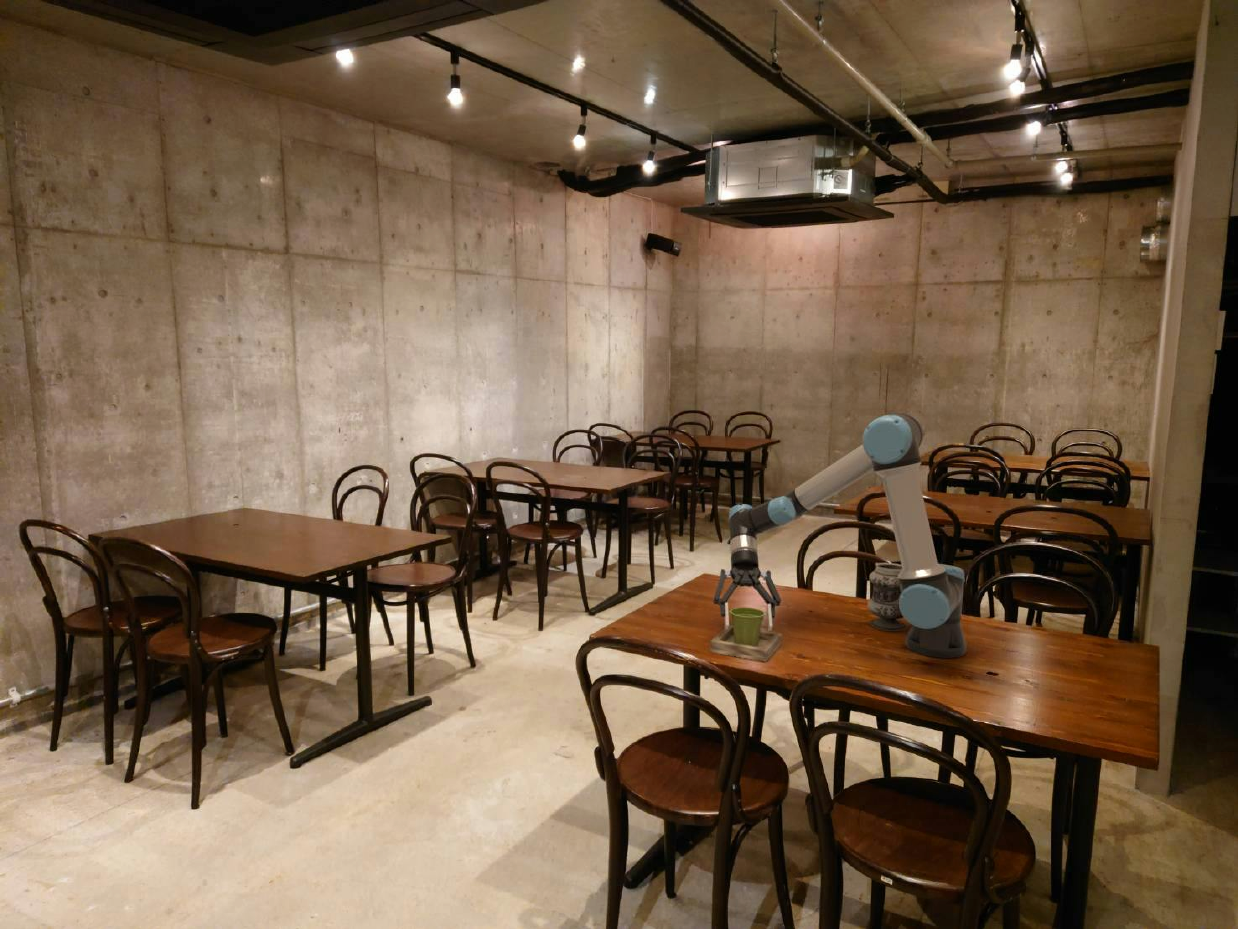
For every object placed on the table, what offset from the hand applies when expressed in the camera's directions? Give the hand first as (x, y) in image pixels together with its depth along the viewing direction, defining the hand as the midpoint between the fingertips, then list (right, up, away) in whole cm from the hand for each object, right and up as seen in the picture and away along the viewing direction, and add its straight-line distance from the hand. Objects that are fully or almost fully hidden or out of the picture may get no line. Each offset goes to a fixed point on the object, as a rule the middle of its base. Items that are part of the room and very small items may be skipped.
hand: (748, 628), depth 205 cm
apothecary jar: (+45, -5, +24) cm, 51 cm away
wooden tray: (0, -6, +4) cm, 7 cm away
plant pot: (0, -5, +4) cm, 6 cm away
